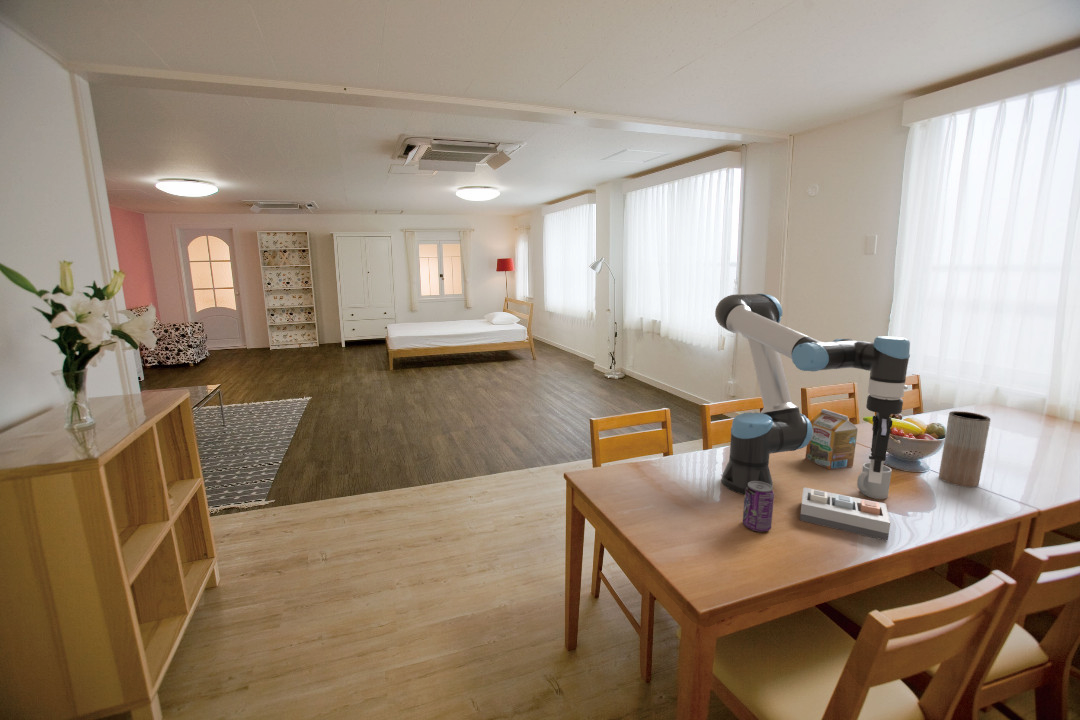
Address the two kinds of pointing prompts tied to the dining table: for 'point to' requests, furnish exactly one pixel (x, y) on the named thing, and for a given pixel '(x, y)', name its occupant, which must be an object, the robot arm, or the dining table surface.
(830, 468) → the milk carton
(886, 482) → the cup
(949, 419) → the planter
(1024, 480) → the dining table surface
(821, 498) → the key left
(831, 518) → the keypad
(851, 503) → the key mid
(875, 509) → the key right
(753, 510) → the beverage can
